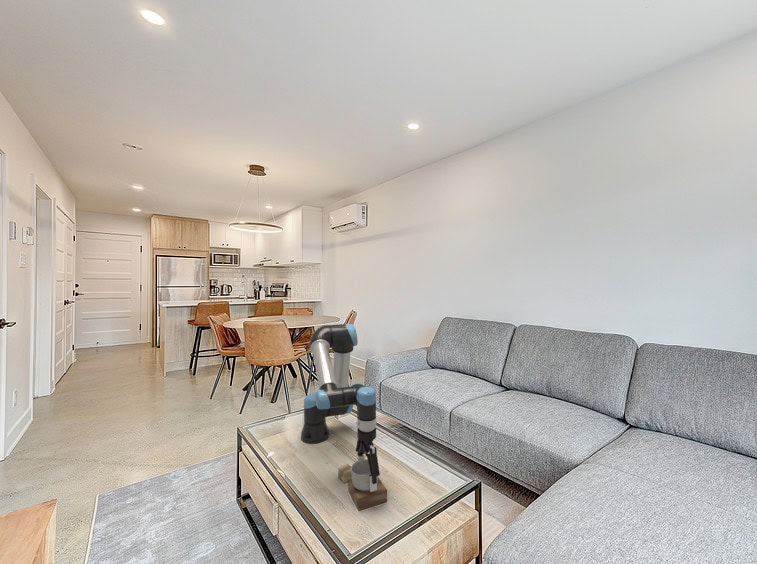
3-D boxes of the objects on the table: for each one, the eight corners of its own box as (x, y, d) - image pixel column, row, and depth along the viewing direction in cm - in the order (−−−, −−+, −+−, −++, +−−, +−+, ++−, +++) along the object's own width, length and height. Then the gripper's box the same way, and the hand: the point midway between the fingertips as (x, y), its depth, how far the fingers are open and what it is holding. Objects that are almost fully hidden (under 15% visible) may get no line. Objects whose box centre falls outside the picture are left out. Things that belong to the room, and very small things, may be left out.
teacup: (368, 499, 123) (367, 478, 123) (345, 488, 129) (345, 468, 129) (387, 479, 135) (387, 460, 135) (365, 470, 141) (365, 452, 141)
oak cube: (338, 479, 144) (338, 468, 144) (347, 474, 148) (347, 463, 147) (344, 484, 141) (344, 473, 140) (354, 480, 144) (353, 468, 143)
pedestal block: (348, 491, 135) (348, 479, 135) (375, 483, 140) (375, 472, 140) (358, 511, 124) (358, 498, 124) (387, 502, 129) (387, 489, 129)
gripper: (347, 416, 140) (348, 466, 141) (369, 444, 118) (370, 503, 119) (364, 413, 143) (364, 461, 144) (388, 440, 121) (388, 497, 122)
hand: (367, 480), depth 132 cm, fingers open, 12 cm apart
